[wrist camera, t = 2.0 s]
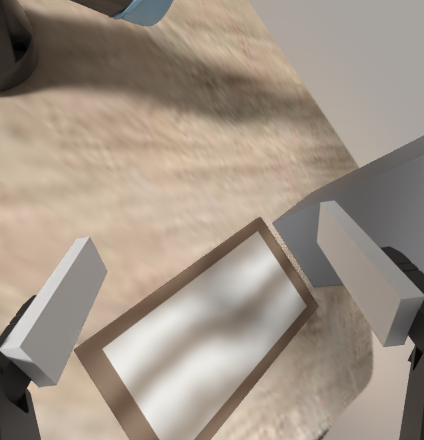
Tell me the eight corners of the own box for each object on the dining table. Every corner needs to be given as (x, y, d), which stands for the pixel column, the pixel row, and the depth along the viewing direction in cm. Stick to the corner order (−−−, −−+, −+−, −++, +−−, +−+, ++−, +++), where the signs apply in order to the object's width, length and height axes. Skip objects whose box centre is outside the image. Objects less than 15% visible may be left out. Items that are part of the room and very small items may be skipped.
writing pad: (74, 349, 25) (73, 350, 24) (257, 218, 39) (260, 216, 38) (162, 490, 24) (165, 497, 23) (314, 306, 39) (319, 306, 38)
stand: (268, 221, 40) (603, 65, 14) (311, 189, 46) (593, 41, 20) (314, 291, 39) (742, 265, 14) (351, 248, 46) (686, 175, 20)
